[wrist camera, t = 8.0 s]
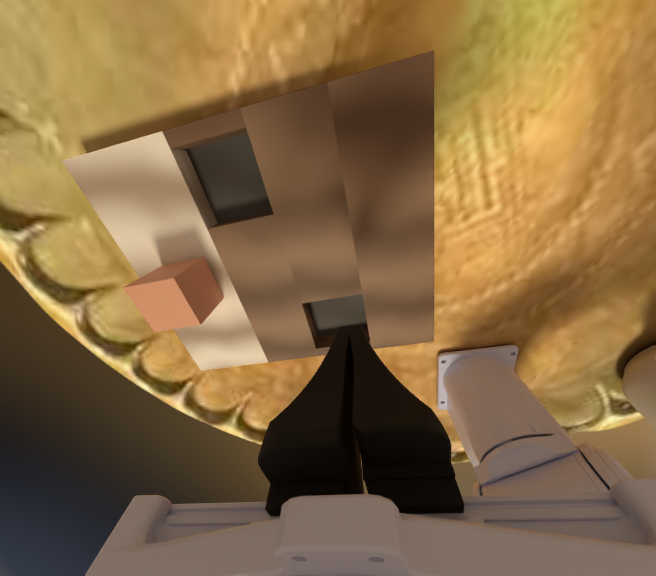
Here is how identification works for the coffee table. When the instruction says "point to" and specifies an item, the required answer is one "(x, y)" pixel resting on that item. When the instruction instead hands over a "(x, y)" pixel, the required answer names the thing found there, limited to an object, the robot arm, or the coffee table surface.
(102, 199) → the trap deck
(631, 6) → the coffee table surface
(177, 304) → the block
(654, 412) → the teacup
